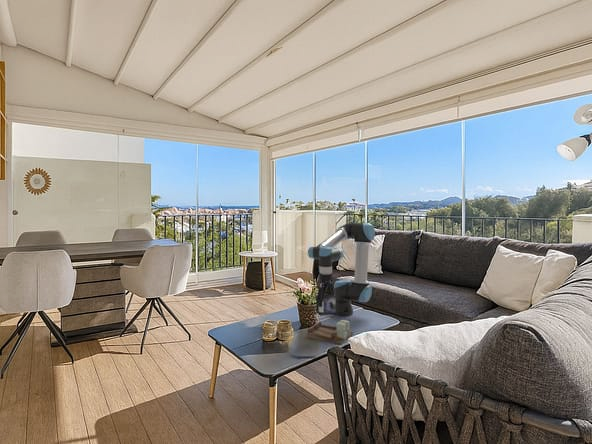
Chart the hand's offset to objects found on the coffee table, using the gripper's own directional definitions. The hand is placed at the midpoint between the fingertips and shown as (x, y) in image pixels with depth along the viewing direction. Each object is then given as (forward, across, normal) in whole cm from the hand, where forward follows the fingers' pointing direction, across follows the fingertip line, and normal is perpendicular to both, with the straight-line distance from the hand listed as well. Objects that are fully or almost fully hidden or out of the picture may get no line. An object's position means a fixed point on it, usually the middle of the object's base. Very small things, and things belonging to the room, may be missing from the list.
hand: (325, 309), depth 214 cm
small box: (+3, 0, 0) cm, 3 cm away
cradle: (+16, 0, +3) cm, 16 cm away
